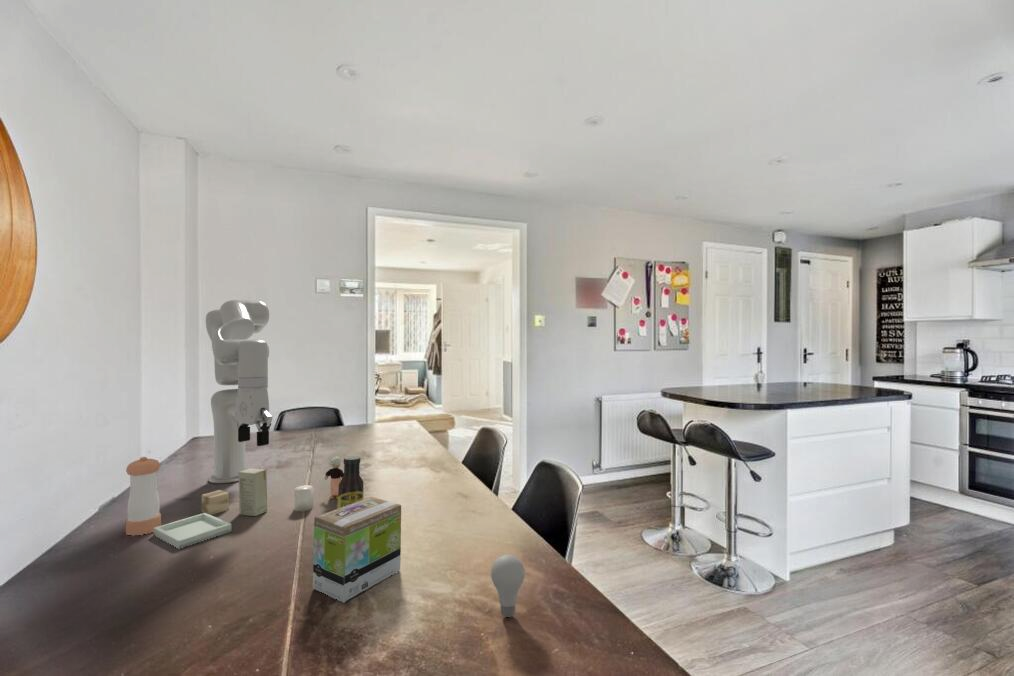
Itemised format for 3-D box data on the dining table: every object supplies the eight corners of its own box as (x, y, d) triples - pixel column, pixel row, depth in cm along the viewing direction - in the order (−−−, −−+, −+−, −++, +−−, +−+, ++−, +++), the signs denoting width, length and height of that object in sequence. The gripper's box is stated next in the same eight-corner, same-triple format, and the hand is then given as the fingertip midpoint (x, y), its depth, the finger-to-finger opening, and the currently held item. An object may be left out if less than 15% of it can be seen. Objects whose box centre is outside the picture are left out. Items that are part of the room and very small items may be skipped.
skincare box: (268, 511, 134) (268, 469, 134) (255, 517, 130) (255, 473, 130) (251, 508, 136) (251, 467, 136) (238, 514, 132) (238, 471, 132)
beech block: (201, 511, 134) (201, 494, 134) (220, 506, 138) (220, 489, 138) (210, 515, 131) (210, 497, 131) (228, 509, 136) (228, 492, 136)
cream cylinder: (290, 509, 136) (290, 488, 136) (306, 504, 140) (306, 484, 140) (301, 512, 133) (301, 492, 133) (316, 507, 137) (316, 487, 137)
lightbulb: (490, 608, 87) (490, 549, 87) (522, 606, 87) (522, 547, 87) (491, 628, 81) (491, 565, 81) (526, 626, 81) (526, 564, 81)
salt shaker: (167, 527, 123) (167, 455, 123) (135, 538, 116) (135, 462, 116) (151, 522, 126) (150, 452, 126) (119, 533, 119) (119, 458, 119)
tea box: (345, 605, 88) (344, 527, 88) (311, 589, 93) (311, 516, 93) (402, 571, 100) (402, 502, 100) (370, 559, 106) (370, 494, 106)
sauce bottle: (338, 543, 114) (338, 462, 113) (335, 533, 119) (334, 456, 119) (365, 537, 117) (365, 459, 116) (361, 528, 122) (361, 453, 122)
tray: (153, 535, 118) (153, 527, 118) (205, 519, 128) (205, 512, 128) (178, 549, 110) (178, 541, 110) (231, 531, 120) (231, 523, 120)
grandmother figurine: (350, 495, 147) (349, 455, 147) (344, 499, 144) (344, 458, 144) (326, 494, 148) (326, 455, 148) (320, 498, 144) (320, 458, 144)
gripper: (223, 383, 134) (224, 442, 134) (256, 386, 125) (257, 449, 125) (249, 380, 141) (250, 437, 141) (283, 383, 131) (283, 444, 131)
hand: (253, 443), depth 133 cm, fingers open, 9 cm apart
